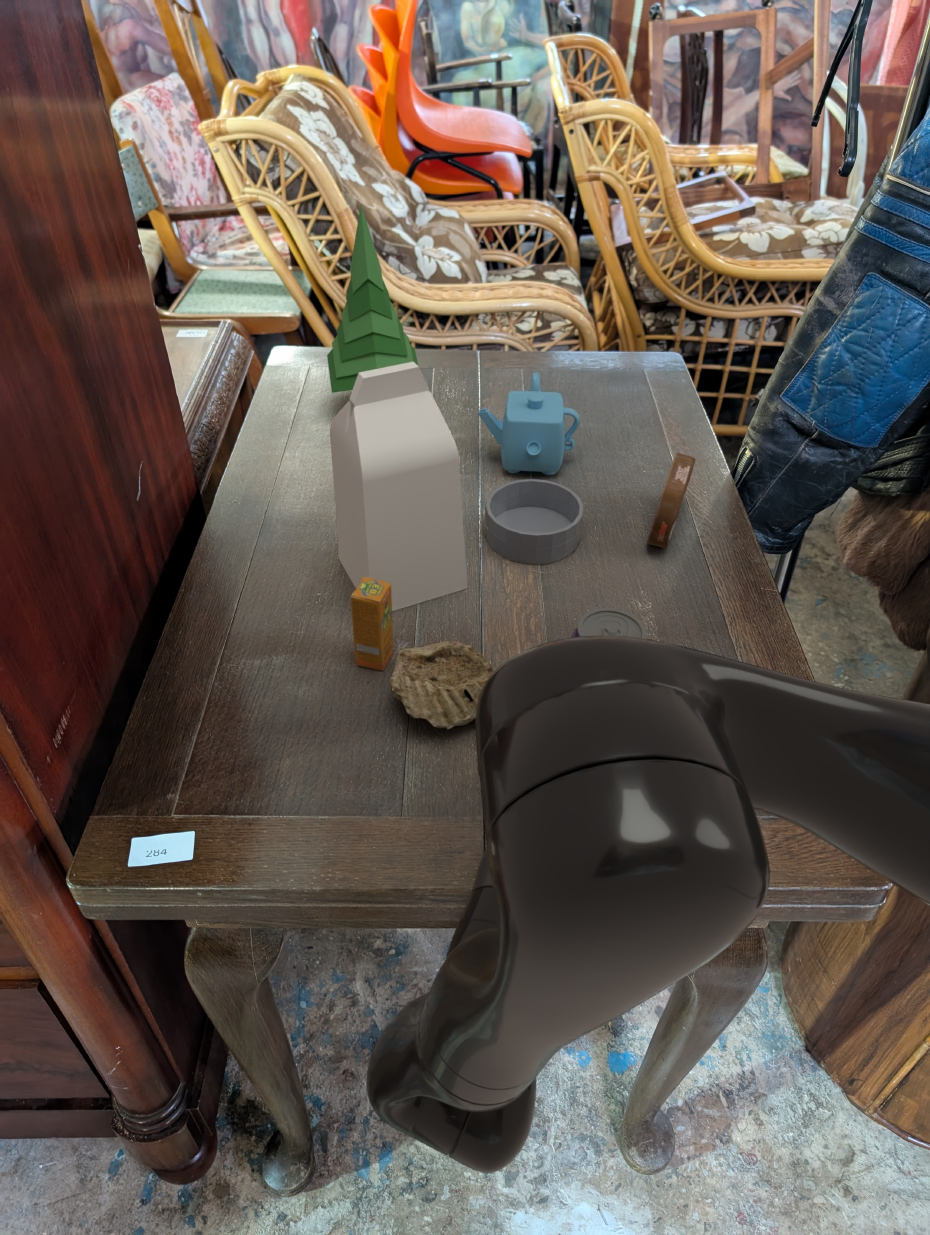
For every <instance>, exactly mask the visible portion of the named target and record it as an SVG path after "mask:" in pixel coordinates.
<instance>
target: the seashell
mask: <svg viewBox="0 0 930 1235" xmlns="http://www.w3.org/2000/svg"><path fill="white" fill-rule="evenodd" d="M493 672H494V671H493V666H492V664H490V663H489V662H488V661H487V659H486V658H485V656H484V655H483V654H482V653H480V652H479V651H478V650H476V649H475V647H474V646H473V645H471V644H465V643H463V642H461V641H456V640H455V641H451V640H445V641H440V642H438V643H431V644H428V645H425V646H420V647H417V646H416V647H410V648H404V649H401V650H399V651H398V653H397V656H396V662H395V666H394V668H393V671H392V675H391V676H390V680H389V681H390V683H389V684H390V687H391V692H393V696H394V697H395V698H396V699H397V700H399V701H401V702H402V704H403V706H404V709H405V710H406V713H407V714H408V715H409V716H410V717H411V718H413V719H420V718H421V719H424V720H426V721H428V722H429V723H430V724H431V726H432V727H435V728H438V729H447V730H450V729H452V728H454V727H462V726H465V725H468V724H469V723H470V722H473V721H474V720H475V719H476V707H477V701H478V698H479V695H480V692H481V690H482V688H483V686H484V685H485V683H486V682H487V680H488V679H489V677H490V676H491V674H492V673H493Z"/></svg>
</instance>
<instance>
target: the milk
mask: <svg viewBox="0 0 930 1235" xmlns="http://www.w3.org/2000/svg"><path fill="white" fill-rule="evenodd" d="M329 438H330V439H329V440H330V452H331V465H332V478H333V492H334V504H335V506H334V508H335V518H336V531H337V544H338V545H337V547H338V558H339V562H340V564H341V566H342V567H343V569H344V571H345V572H346V574H347V576H348V578H349V579H350V581H351V584H352V585H353V587H354V588H355V590H356V589H357V587H358V586H359V584H360V583H361V579H362V577H368V578H372V579H376V580H381V581H384V582H388V583H390V584H391V598H392V612H395V611H398V610H401V609H405V608H408V607H412V606H415V605H419V604H421V603H424V602H428V601H431V600H434V599H437V598H438V599H439V598H440V597H444V596H447V595H450V594H453V593H458V592H460V591H463V590H467V589H468V588H469V586H468V573H467V558H466V541H465V529H464V528H465V527H464V515H463V513H464V512H463V499H462V496H463V495H462V484H461V468H460V467H461V466H460V455H459V450H458V447H457V444H456V441H455V438H454V436H453V434H452V432H451V430H450V428H449V425H448V424H447V421H446V419H445V418H444V416H443V414H442V412H441V409H440V408H439V406H438V404H437V402H436V400H435V398H434V396H433V393H432V392H431V391H430V388H429V385H428V383H427V381H426V379H425V377H424V375H423V373H422V371H421V368H420V366H419V365H418V366H417V365H416V364H415V362H409V363H404V364H399V365H394V366H389V367H384V368H379V369H374V370H369V371H364V372H359V373H358V376H357V379H356V381H355V384H354V387H353V390H351V393H350V395H349V400H348V401H347V402H346V403H345V404H344V406H342V407H341V409H340V410H339V411H338V413H337V414H336V415H334V417H333V418H332V420H331V423H330V427H329Z"/></svg>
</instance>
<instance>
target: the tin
mask: <svg viewBox="0 0 930 1235" xmlns="http://www.w3.org/2000/svg"><path fill="white" fill-rule="evenodd" d="M695 463H696V458H695V457H694V456H690V455H688V454H682V453H679V452H678V451H676V453H675V455H674V458H673V461H672V462H671V467H670V469H669V472H668V475H667V477H666V481H665V484H664V487H663V489H662V492H661V496H660V499H659V501H658V504H657V508H656V511H655V515H654V516H653V522H652V525H651V528H650V531H649V536H648V539H647V541H646V544H647V545H652V546H655V547H659V548H664V549H667V548H668V547H669V545H670V542H671V539H672V537H673V533H674V531H675V527H676V523H677V521H678V517H679V513H680V511H681V508H682V504H683V502H684V498H685V494H686V493H687V492H686V491H687V489H688V486H689V483H690V480H691V477H692V473H693V469H694V466H695Z"/></svg>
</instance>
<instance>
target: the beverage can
mask: <svg viewBox="0 0 930 1235" xmlns="http://www.w3.org/2000/svg"><path fill="white" fill-rule="evenodd" d="M647 634H648V633H647V629H646V626H645V625H644V623H643V622H642V621H641V619H639V618H638V617H637V616H636V615H634V614H632V613H630V612H628V611H626V610H623V609H620V608H613V607H601V608H595V609H591V610H589V611H587V612H585V613H584V614H583V615H582V616H581V617H580V618H579V620H578V623H577V627H576V628H575V629H574V630H573V632H572V634H571V636H570V638H574V637H581V636H627V637H636V638H644V639H647Z"/></svg>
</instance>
